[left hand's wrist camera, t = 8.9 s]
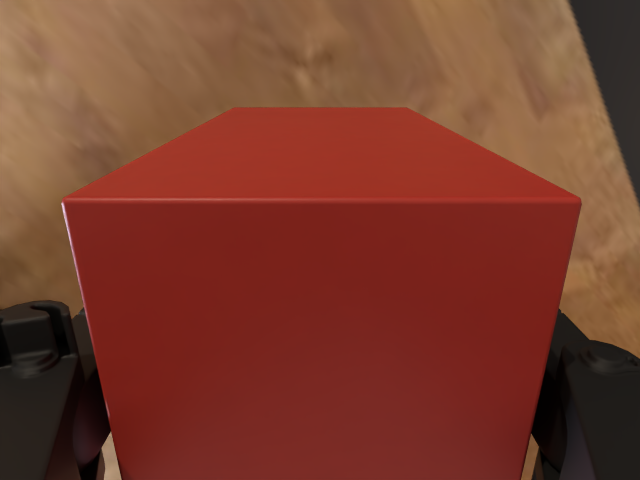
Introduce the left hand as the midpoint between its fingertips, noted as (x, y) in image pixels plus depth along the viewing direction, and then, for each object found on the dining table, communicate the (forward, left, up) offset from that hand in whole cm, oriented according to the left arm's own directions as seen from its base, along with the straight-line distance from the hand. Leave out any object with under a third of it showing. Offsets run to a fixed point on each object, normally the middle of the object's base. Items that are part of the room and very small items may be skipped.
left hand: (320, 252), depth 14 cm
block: (0, 0, -4) cm, 4 cm away
